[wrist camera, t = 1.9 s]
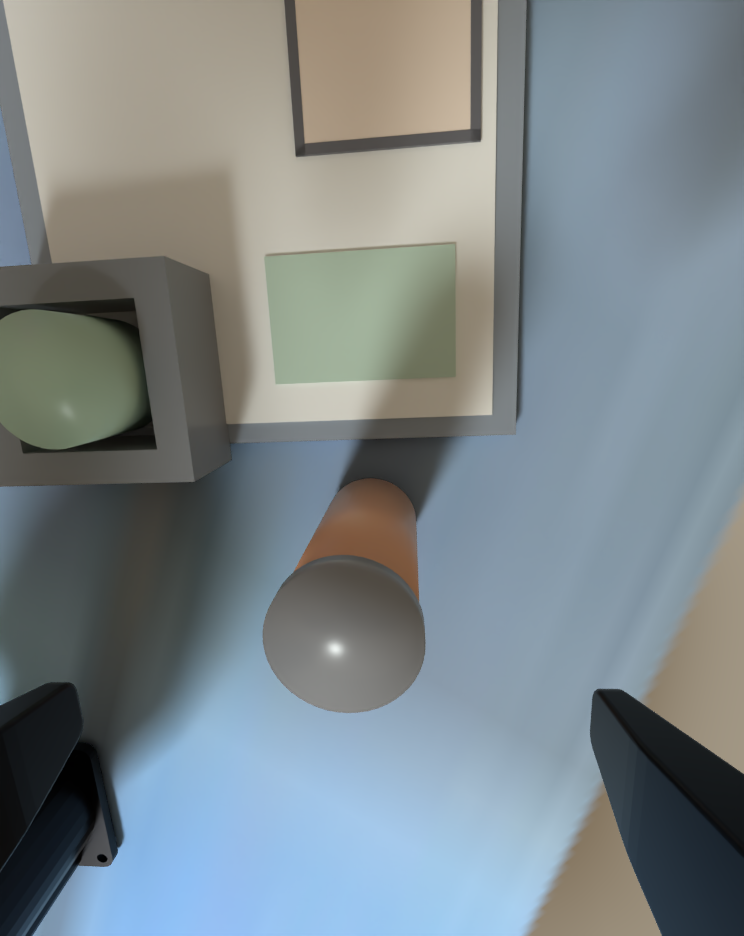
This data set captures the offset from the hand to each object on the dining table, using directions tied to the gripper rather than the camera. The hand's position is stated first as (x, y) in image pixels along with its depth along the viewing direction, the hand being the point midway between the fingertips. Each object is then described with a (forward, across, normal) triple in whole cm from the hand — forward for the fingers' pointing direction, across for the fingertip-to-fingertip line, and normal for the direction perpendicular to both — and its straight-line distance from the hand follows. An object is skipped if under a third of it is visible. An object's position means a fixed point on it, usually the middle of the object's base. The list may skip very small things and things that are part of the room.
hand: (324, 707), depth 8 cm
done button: (+8, +8, -6) cm, 13 cm away
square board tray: (+10, +3, -11) cm, 15 cm away
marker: (+10, 0, 0) cm, 10 cm away
